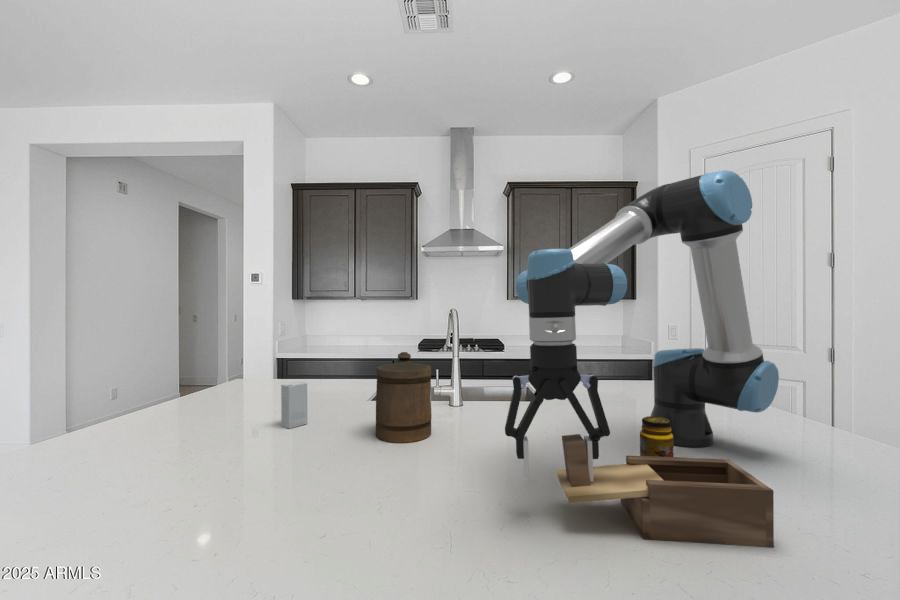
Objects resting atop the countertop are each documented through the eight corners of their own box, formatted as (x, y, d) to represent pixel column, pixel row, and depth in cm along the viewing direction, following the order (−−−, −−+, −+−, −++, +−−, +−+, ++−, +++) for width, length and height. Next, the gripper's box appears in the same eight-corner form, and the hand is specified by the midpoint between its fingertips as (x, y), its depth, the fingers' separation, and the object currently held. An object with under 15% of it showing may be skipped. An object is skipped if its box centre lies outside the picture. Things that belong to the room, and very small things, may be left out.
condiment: (679, 488, 80) (678, 425, 80) (630, 483, 83) (630, 421, 83) (671, 473, 87) (671, 415, 87) (626, 468, 89) (626, 412, 90)
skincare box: (299, 421, 125) (299, 380, 125) (308, 424, 122) (308, 382, 122) (280, 426, 120) (280, 384, 120) (288, 429, 117) (288, 386, 117)
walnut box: (620, 501, 75) (620, 455, 75) (728, 506, 73) (728, 459, 73) (643, 539, 63) (642, 484, 63) (773, 547, 61) (773, 490, 61)
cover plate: (556, 475, 75) (551, 430, 75) (645, 467, 74) (639, 422, 74) (569, 503, 65) (562, 451, 65) (672, 494, 64) (665, 441, 64)
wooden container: (441, 431, 116) (441, 351, 116) (408, 447, 103) (408, 357, 103) (399, 423, 123) (399, 348, 124) (363, 436, 111) (363, 353, 111)
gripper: (485, 346, 68) (490, 486, 67) (629, 343, 65) (634, 488, 65) (486, 342, 75) (490, 468, 75) (615, 339, 73) (620, 469, 72)
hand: (557, 477), depth 70 cm, fingers open, 9 cm apart
